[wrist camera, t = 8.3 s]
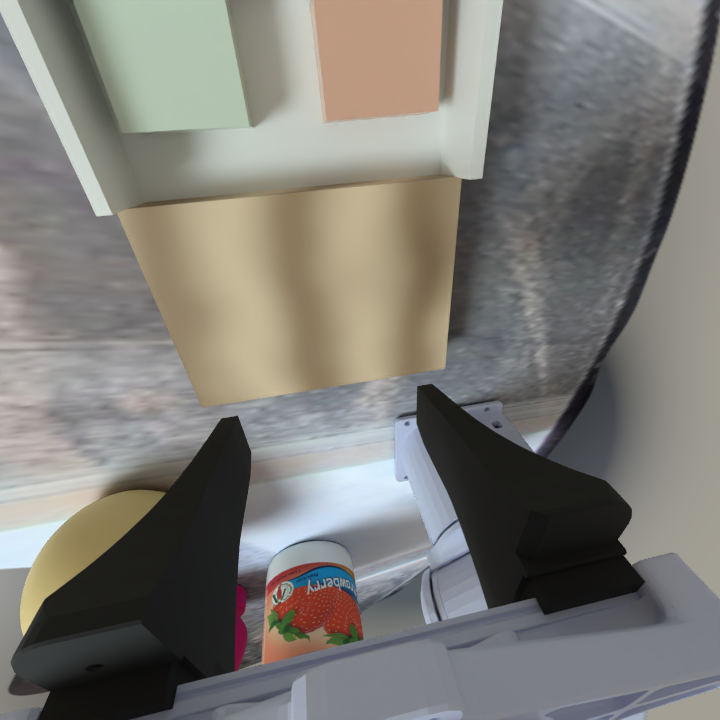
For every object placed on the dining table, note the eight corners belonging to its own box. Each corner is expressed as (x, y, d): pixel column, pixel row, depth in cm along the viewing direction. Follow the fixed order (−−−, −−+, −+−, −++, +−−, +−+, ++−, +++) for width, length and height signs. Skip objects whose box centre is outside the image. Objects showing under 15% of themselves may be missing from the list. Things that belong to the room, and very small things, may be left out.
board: (442, 173, 18) (461, 176, 16) (431, 349, 25) (444, 368, 23) (137, 202, 17) (115, 209, 15) (210, 383, 23) (201, 407, 21)
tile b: (249, 125, 14) (254, 127, 16) (222, -14, 12) (231, 7, 13) (122, 133, 13) (140, 134, 15) (68, -11, 11) (97, 9, 13)
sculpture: (96, 560, 31) (17, 727, 22) (50, 475, 25) (-84, 659, 16) (226, 547, 34) (202, 693, 25) (214, 467, 27) (177, 623, 18)
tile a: (438, 110, 15) (423, 114, 16) (443, -21, 13) (425, -2, 14) (326, 121, 14) (323, 123, 16) (311, -15, 12) (309, 5, 14)
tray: (461, -27, 14) (512, -80, 11) (447, 172, 18) (482, 178, 15) (47, -15, 13) (-40, -74, 9) (135, 202, 17) (96, 216, 13)
